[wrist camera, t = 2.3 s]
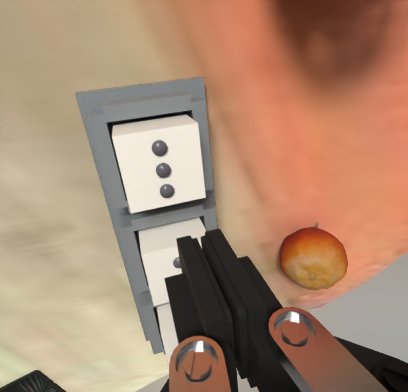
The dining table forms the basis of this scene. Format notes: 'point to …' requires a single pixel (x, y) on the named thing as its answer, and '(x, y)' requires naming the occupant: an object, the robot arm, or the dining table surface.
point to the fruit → (313, 258)
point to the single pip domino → (167, 329)
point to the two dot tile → (165, 253)
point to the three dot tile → (160, 161)
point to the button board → (113, 183)
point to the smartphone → (32, 384)
